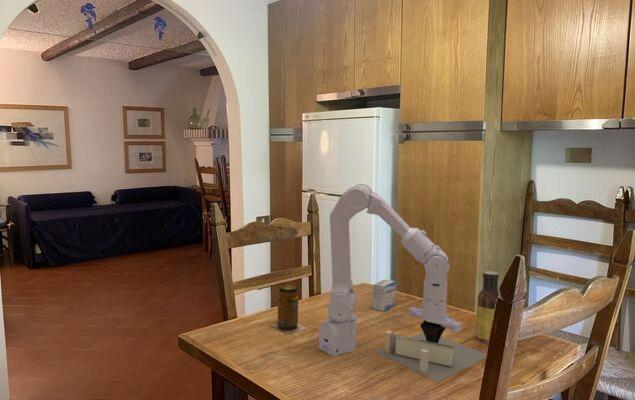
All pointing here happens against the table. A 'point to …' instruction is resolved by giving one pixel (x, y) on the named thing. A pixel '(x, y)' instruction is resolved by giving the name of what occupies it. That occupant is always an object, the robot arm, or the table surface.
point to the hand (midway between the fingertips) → (432, 350)
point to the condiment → (288, 310)
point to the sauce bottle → (486, 306)
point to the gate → (413, 347)
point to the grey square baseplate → (435, 371)
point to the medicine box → (384, 295)
